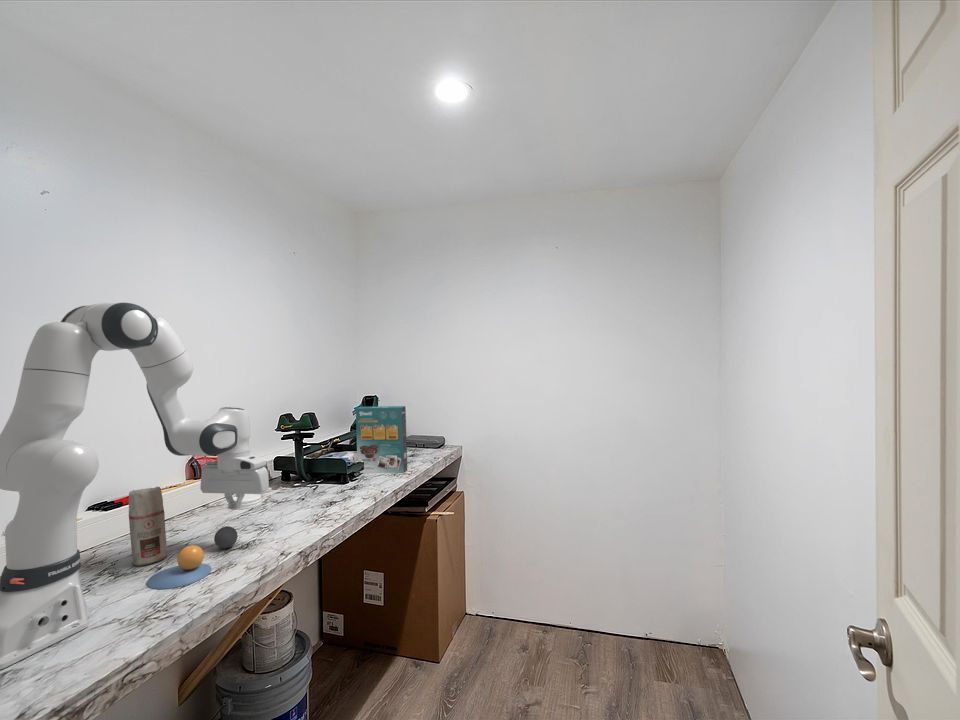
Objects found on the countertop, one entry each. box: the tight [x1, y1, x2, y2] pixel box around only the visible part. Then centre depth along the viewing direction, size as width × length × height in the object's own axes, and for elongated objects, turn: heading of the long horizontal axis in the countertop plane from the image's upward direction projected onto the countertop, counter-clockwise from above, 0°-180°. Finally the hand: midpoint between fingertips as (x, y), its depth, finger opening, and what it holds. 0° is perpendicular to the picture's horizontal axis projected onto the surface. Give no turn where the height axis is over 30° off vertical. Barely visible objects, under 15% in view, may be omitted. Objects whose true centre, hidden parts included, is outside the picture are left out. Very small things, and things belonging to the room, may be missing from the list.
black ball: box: [213, 526, 238, 549], centre depth 143 cm, size 6×6×6 cm
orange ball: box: [176, 544, 205, 570], centre depth 129 cm, size 6×6×6 cm
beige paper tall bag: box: [128, 486, 168, 566], centre depth 135 cm, size 8×8×20 cm
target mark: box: [146, 562, 212, 590], centre depth 125 cm, size 14×14×1 cm
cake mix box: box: [355, 405, 408, 474], centre depth 229 cm, size 22×6×30 cm, turn 82°
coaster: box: [232, 494, 262, 510], centre depth 183 cm, size 10×10×4 cm
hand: (234, 508), depth 147 cm, fingers closed
